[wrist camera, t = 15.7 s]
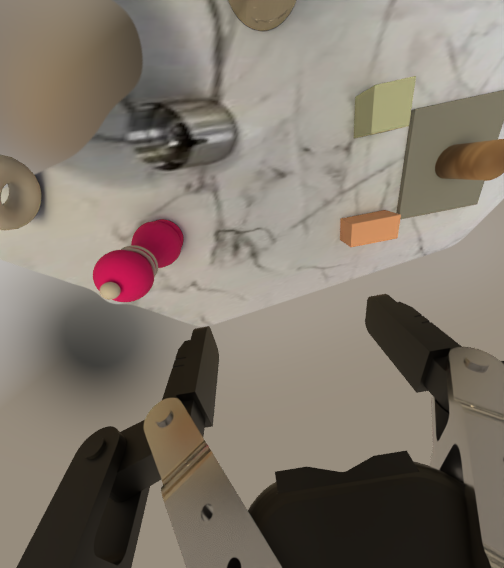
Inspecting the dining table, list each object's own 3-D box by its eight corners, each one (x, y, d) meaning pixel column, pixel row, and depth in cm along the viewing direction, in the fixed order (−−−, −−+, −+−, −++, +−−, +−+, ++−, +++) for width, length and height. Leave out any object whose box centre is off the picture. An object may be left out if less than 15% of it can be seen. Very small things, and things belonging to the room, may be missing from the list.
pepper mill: (194, 234, 38) (158, 290, 21) (172, 263, 41) (124, 334, 23) (157, 207, 36) (81, 244, 18) (137, 239, 38) (52, 300, 21)
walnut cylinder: (438, 148, 33) (482, 143, 27) (470, 141, 33) (522, 134, 27) (432, 181, 36) (472, 183, 30) (461, 174, 35) (508, 176, 29)
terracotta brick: (339, 239, 41) (350, 247, 37) (340, 218, 39) (352, 224, 35) (381, 231, 40) (397, 238, 36) (384, 209, 38) (400, 214, 35)
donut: (49, 224, 36) (-11, 242, 27) (25, 217, 35) (-44, 233, 26) (46, 161, 32) (-27, 158, 23) (18, 151, 31) (-68, 144, 22)
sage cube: (355, 97, 30) (374, 85, 26) (389, 89, 30) (415, 76, 26) (353, 138, 33) (371, 133, 28) (385, 131, 33) (408, 125, 28)
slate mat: (411, 110, 31) (415, 109, 31) (507, 89, 31) (514, 87, 30) (395, 218, 39) (398, 219, 38) (472, 203, 39) (476, 204, 38)
